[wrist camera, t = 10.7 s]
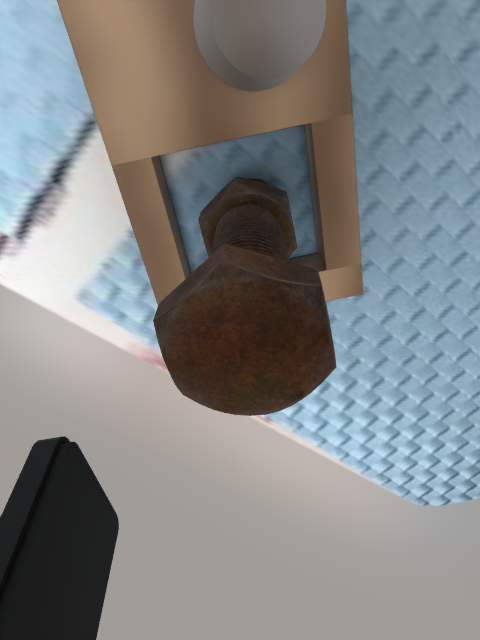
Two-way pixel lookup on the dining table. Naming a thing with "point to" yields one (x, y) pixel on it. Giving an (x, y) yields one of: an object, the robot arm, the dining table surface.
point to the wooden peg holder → (221, 108)
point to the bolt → (247, 310)
